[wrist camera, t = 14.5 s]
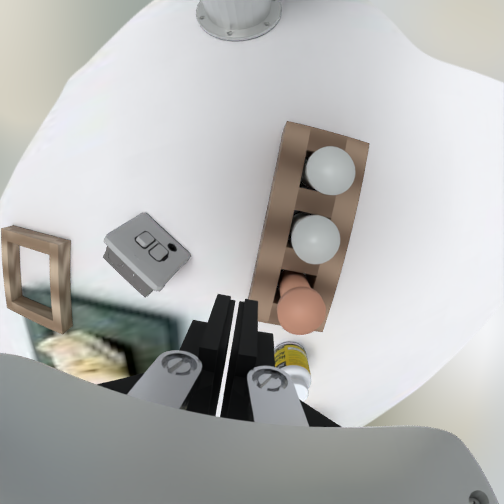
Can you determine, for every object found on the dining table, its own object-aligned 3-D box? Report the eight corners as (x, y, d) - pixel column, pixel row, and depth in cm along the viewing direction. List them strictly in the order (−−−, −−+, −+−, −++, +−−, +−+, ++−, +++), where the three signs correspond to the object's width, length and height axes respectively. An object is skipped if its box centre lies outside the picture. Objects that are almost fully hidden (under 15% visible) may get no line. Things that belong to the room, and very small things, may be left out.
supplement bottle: (280, 336, 42) (284, 374, 33) (311, 347, 42) (322, 386, 33) (265, 362, 43) (265, 403, 34) (295, 372, 44) (302, 413, 34)
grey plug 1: (299, 153, 36) (312, 140, 26) (334, 161, 36) (359, 153, 26) (292, 188, 37) (303, 188, 27) (327, 196, 37) (350, 200, 27)
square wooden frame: (13, 225, 40) (1, 228, 36) (70, 240, 40) (58, 244, 37) (17, 301, 43) (7, 307, 40) (72, 325, 43) (62, 334, 40)
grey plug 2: (288, 204, 37) (298, 211, 27) (323, 212, 37) (345, 222, 27) (280, 240, 38) (287, 259, 28) (315, 247, 38) (333, 268, 28)
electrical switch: (193, 254, 40) (169, 279, 31) (172, 278, 41) (146, 307, 32) (145, 210, 39) (110, 223, 30) (127, 236, 40) (92, 255, 31)
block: (283, 131, 36) (287, 121, 30) (354, 149, 36) (369, 143, 30) (247, 300, 41) (245, 318, 35) (314, 312, 41) (322, 332, 35)
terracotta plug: (278, 259, 37) (284, 286, 27) (313, 266, 37) (331, 295, 27) (269, 294, 38) (272, 330, 28) (304, 300, 38) (318, 337, 28)
